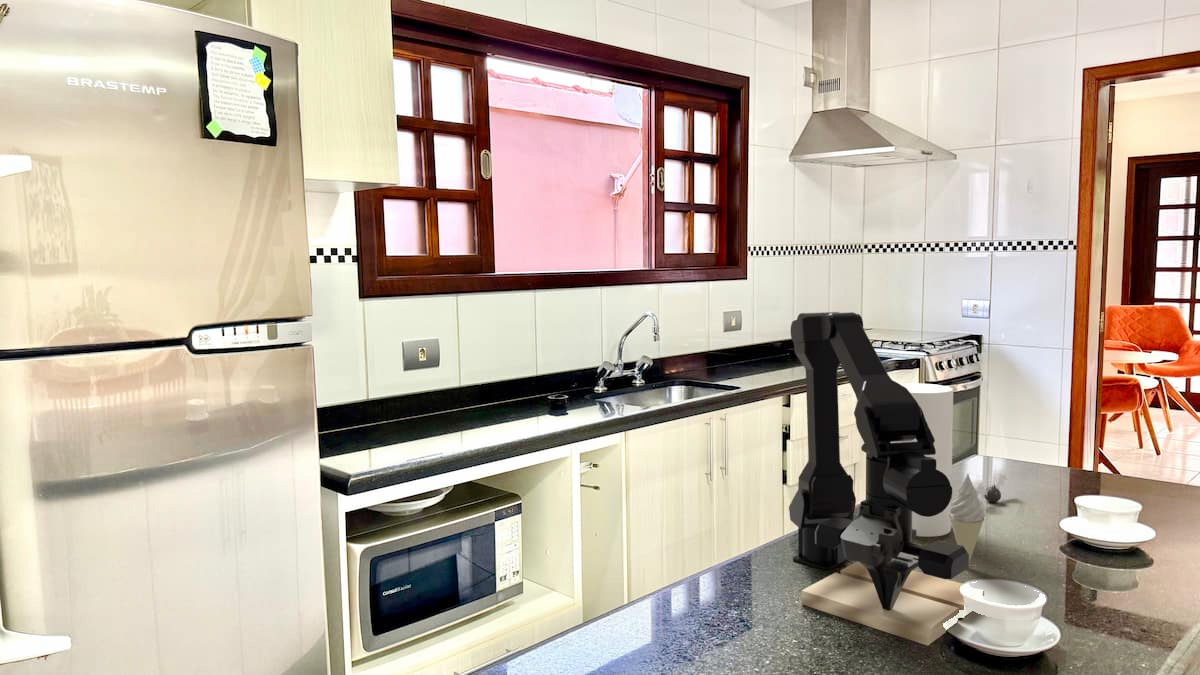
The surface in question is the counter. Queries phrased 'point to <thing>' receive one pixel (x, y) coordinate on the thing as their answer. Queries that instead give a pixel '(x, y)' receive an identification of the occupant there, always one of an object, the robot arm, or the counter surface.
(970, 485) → the ice cream cone
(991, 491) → the bat toy
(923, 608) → the oak plank
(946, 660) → the counter surface
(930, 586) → the floor strip
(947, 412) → the tall pillar cylinder
